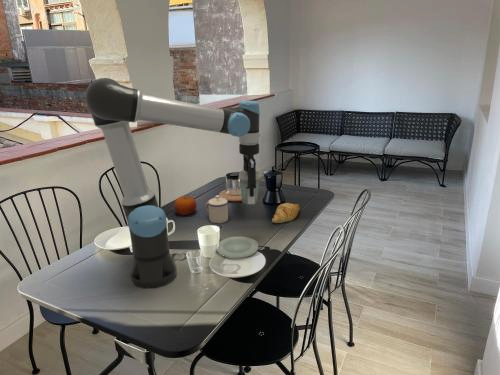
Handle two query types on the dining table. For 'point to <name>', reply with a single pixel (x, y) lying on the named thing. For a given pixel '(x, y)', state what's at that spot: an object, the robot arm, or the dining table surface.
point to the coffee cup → (244, 183)
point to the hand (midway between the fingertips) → (249, 200)
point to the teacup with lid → (217, 209)
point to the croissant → (286, 212)
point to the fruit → (185, 205)
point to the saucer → (237, 247)
